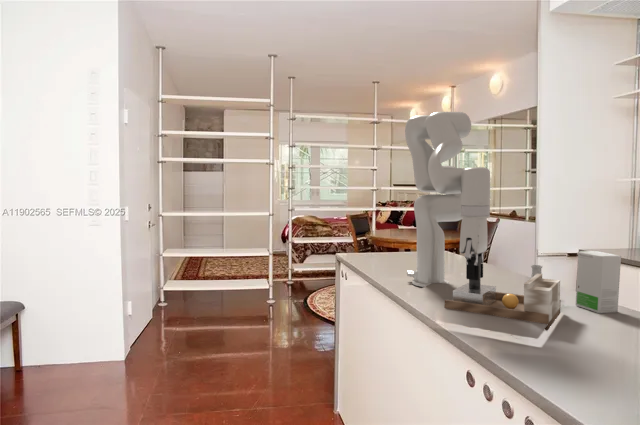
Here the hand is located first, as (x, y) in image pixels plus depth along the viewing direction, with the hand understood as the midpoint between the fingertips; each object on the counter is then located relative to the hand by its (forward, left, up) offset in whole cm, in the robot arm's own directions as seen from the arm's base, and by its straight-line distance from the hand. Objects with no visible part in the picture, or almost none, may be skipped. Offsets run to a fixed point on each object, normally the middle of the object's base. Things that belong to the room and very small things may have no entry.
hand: (474, 277), depth 120 cm
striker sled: (0, 0, -7) cm, 7 cm away
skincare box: (+27, +19, -9) cm, 34 cm away
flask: (+11, +23, -9) cm, 27 cm away
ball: (+9, 0, -5) cm, 11 cm away
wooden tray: (+7, 0, -9) cm, 11 cm away
